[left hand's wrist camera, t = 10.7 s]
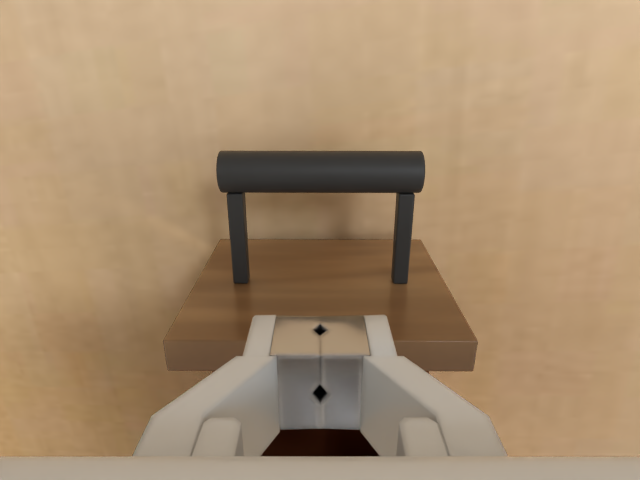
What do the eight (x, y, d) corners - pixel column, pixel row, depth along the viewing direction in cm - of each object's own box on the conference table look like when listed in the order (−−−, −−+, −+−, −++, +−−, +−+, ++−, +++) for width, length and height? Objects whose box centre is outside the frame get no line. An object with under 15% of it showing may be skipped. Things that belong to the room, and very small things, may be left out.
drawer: (211, 132, 21) (138, 178, 12) (430, 132, 21) (503, 179, 12) (243, 514, 30) (214, 687, 22) (396, 514, 30) (425, 688, 22)
